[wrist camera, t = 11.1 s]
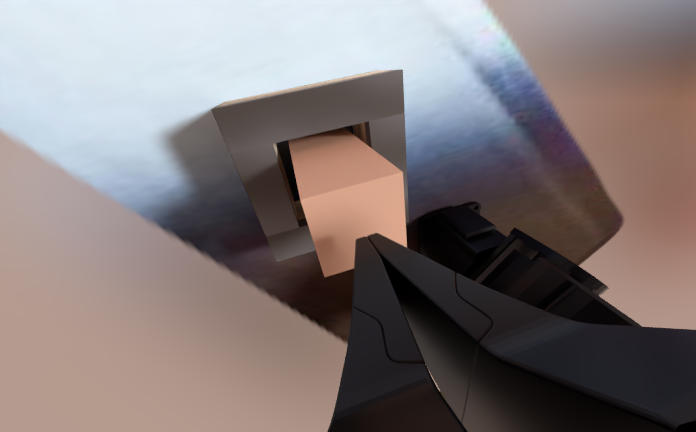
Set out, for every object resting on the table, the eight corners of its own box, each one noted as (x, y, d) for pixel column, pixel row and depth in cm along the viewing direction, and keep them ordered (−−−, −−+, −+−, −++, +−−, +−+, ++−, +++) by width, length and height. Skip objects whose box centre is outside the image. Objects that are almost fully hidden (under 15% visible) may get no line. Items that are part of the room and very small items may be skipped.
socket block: (388, 199, 22) (408, 222, 18) (276, 231, 21) (276, 261, 17) (376, 70, 17) (402, 69, 13) (225, 101, 15) (211, 109, 12)
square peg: (351, 176, 20) (407, 251, 12) (302, 189, 19) (324, 277, 11) (342, 126, 18) (403, 171, 9) (287, 139, 17) (300, 199, 9)
